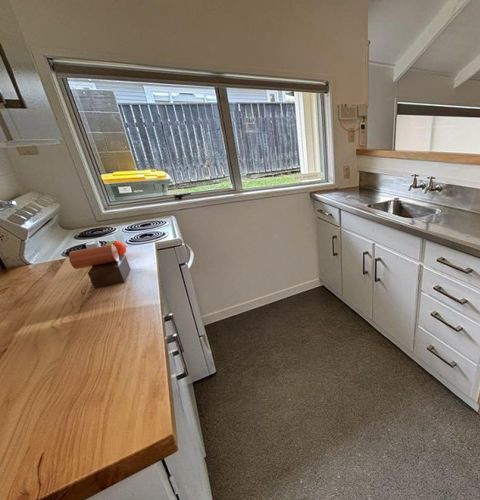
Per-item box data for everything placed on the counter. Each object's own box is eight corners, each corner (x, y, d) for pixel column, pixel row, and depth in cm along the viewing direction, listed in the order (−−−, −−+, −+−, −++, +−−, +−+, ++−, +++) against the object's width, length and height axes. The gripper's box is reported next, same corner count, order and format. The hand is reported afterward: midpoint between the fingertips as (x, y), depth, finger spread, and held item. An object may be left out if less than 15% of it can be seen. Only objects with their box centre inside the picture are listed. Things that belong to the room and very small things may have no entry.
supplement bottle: (90, 266, 109) (81, 245, 106) (94, 261, 113) (86, 242, 110) (105, 263, 111) (97, 243, 108) (109, 259, 115) (101, 239, 112)
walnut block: (94, 289, 92) (87, 272, 90) (104, 274, 102) (97, 259, 99) (124, 282, 95) (118, 266, 93) (130, 269, 105) (125, 254, 103)
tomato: (122, 260, 113) (116, 243, 111) (102, 262, 112) (95, 246, 109) (131, 252, 121) (125, 237, 118) (113, 255, 119) (106, 239, 116)
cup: (73, 271, 90) (66, 254, 88) (80, 265, 95) (73, 249, 93) (116, 263, 95) (109, 246, 93) (120, 258, 100) (114, 242, 98)
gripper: (-111, 210, 65) (-25, 202, 70) (-46, 196, 82) (19, 190, 87) (-94, 236, 67) (-11, 226, 72) (-34, 217, 84) (28, 210, 90)
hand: (5, 206), depth 80 cm, fingers open, 8 cm apart
